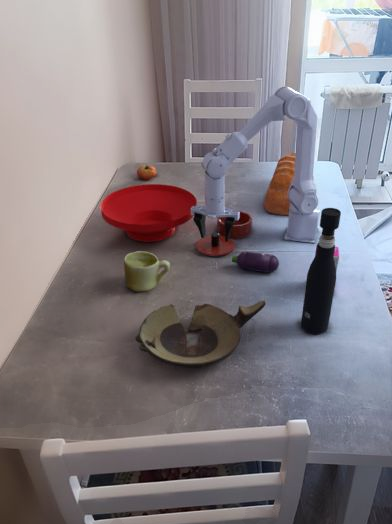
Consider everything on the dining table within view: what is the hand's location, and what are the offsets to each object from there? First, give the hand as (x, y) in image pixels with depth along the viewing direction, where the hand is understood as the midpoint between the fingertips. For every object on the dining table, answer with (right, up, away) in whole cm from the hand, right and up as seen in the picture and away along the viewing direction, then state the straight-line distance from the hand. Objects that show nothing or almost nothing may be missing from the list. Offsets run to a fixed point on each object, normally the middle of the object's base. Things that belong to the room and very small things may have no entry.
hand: (215, 238), depth 146 cm
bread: (+28, +20, +30) cm, 46 cm away
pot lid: (0, -2, +2) cm, 3 cm away
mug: (-19, -15, -13) cm, 27 cm away
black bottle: (+23, -26, -30) cm, 46 cm away
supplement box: (+28, -16, -17) cm, 36 cm away
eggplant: (+12, -10, -9) cm, 18 cm away
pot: (+7, +4, +11) cm, 13 cm away
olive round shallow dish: (-4, -31, -34) cm, 46 cm away
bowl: (-21, +4, +13) cm, 24 cm away
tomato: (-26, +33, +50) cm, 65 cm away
